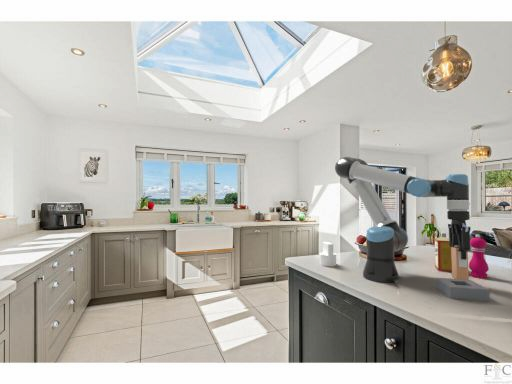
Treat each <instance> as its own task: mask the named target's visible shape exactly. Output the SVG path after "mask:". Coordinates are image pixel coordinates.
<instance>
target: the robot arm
mask: <svg viewBox="0 0 512 384" xmlns="http://www.w3.org/2000/svg"><path fill="white" fill-rule="evenodd" d="M334 170H335V173H336V175H337V176H339V178H341V179H342V178H343V179H346V180H347V181H348V183H349V184H350V186H351V187H354V189H355V190H356V192H357V194H358V196H359V198H360V200H361V202H362V203H363V206H364V208H365V209H366V211H367V213H368V215H369V217H370V219H371V221H372V223H373V225H374V226H371V227H369V228H367V229H366V235H365V238H366V261H365V265H364V268H363V271H362V276H363V278H365V279H366V280H369V281H374V282H379V283H395V281H397V280H399V278H400V275H399V271H398V269H397V266H396V263H395V252H399V251H401V250H403V249H404V248H406V246H407V245H408V243H409V236H408V234H407V231H406V230H404V229H403V228H401V227H400V226H399V224H398V222H397V221H396V220H394V219H392V218H391V216H390V214H389V213H388V211H387V209H386V206H385V205H384V203H383V201H382V200H381V198H380V196H379V195H378V193H377V191H376V189H375V186H374V185H378V186H381V187H386V188H388V189H391V190H395V191H398V192H403V193H406V194H409V195H411V196H414V197H417V198H439V197H440V198H442V197H443V198H444V197H446V209H447V210H448V211H447V215H446V217H447V219H448V220H451V223H447V228H448V239H449V246H451V247H454V245H459V250H457V251H458V263H459V267H467V251H468V252H470V251H471V245H470V240H471V226H467V223H466V221H469V220H470V217H471V216H470V211H468V210H470V205H471V203H470V194H469V193H470V189H469V188H470V184H469V177H468V175H467V174H465V173H456V174H455V173H453V174H448V175H446V178H445V179H436V180H433V179H432V180H431V179H424V178H420V177H415V176H412V175H408V174H403V173H399V172H394V171H392V170H391V171H390V170H388V169H383V168H379V167H375V166H370V165H369V164H368V162H366V160H364V159H360V158H355V157H351V156H350V157H349V156H344V157H340V158H339V159H338V160H337V161H336V162H335V166H334ZM373 184H374V185H373Z"/></svg>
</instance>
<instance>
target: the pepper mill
mask: <svg viewBox="0 0 512 384" xmlns="http://www.w3.org/2000/svg"><path fill="white" fill-rule="evenodd" d="M486 246H487V242H486V240H485V239H484V238H482V237H481V235H480V234H478V233H477V234H475V237H472V238H470V247H471V248H470V251H472V256H471V259H470V261H469V262H468V269H469V270H470V271H469V274H470V276H471V277H473V278H476V279H488V273H487V272H489V264H488V262H487V261H486V258H485V252H486V249H485V247H486Z"/></svg>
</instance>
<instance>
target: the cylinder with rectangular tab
mask: <svg viewBox="0 0 512 384" xmlns="http://www.w3.org/2000/svg"><path fill="white" fill-rule="evenodd" d="M319 265H321V266H323V267H335V266H337V253H336V252H334V243H331V242H329V241H323V242H322V252H319Z"/></svg>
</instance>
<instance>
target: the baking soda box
mask: <svg viewBox="0 0 512 384" xmlns="http://www.w3.org/2000/svg"><path fill="white" fill-rule="evenodd" d="M434 267H435V269H436V270H437V271H439V272H444V273H446V272H448V273H452V259H451V246H449V238H443V237H440V238H439V237H434Z"/></svg>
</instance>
